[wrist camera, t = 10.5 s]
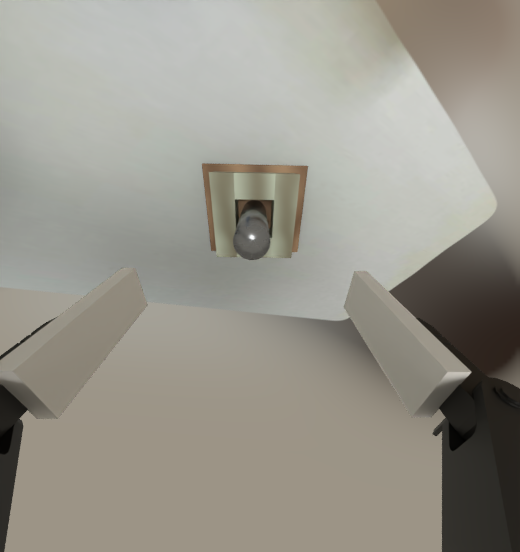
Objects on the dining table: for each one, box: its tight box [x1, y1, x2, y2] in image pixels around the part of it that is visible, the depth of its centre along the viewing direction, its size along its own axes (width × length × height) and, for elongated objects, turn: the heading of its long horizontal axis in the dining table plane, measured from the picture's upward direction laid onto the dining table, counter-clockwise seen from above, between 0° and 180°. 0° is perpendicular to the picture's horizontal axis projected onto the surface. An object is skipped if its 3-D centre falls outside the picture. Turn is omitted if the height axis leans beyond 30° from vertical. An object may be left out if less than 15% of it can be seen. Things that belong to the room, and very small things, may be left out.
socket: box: [202, 164, 308, 258], centre depth 31 cm, size 16×14×6 cm
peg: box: [233, 200, 270, 260], centre depth 27 cm, size 4×4×14 cm
